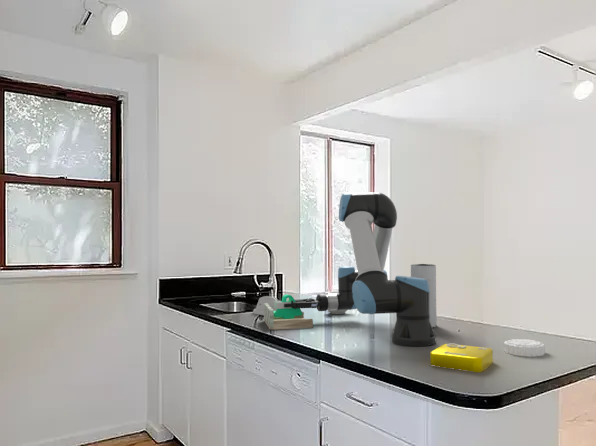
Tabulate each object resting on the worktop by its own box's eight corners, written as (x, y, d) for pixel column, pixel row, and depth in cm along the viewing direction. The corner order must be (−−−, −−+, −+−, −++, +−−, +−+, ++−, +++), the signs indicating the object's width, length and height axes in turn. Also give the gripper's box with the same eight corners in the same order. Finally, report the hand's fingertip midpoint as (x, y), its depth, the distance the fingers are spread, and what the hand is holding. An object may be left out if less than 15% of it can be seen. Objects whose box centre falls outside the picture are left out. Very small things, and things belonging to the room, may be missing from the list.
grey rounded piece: (252, 313, 255) (257, 293, 257) (259, 315, 258) (264, 296, 260) (271, 317, 242) (276, 296, 244) (278, 319, 245) (284, 299, 247)
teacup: (324, 315, 245) (324, 298, 246) (329, 311, 256) (329, 295, 256) (352, 315, 241) (352, 299, 242) (356, 312, 252) (356, 296, 252)
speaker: (439, 324, 214) (437, 263, 215) (435, 328, 205) (433, 264, 205) (414, 323, 219) (412, 262, 219) (408, 327, 209) (407, 264, 210)
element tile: (428, 367, 147) (427, 350, 147) (444, 356, 160) (444, 341, 160) (481, 374, 139) (480, 357, 139) (494, 362, 151) (494, 346, 151)
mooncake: (514, 347, 171) (514, 336, 171) (551, 352, 162) (551, 341, 162) (497, 352, 163) (497, 341, 163) (534, 359, 154) (534, 347, 154)
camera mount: (296, 315, 228) (296, 292, 229) (302, 317, 221) (301, 294, 221) (271, 317, 225) (270, 294, 225) (275, 319, 217) (275, 295, 218)
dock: (312, 327, 211) (312, 308, 212) (270, 329, 208) (269, 310, 209) (303, 319, 233) (302, 302, 233) (264, 321, 230) (264, 303, 230)
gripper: (332, 313, 218) (279, 316, 212) (320, 308, 233) (271, 311, 227) (332, 296, 218) (279, 298, 212) (320, 292, 234) (271, 294, 228)
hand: (275, 305), depth 220 cm, fingers closed on camera mount, 3 cm apart
